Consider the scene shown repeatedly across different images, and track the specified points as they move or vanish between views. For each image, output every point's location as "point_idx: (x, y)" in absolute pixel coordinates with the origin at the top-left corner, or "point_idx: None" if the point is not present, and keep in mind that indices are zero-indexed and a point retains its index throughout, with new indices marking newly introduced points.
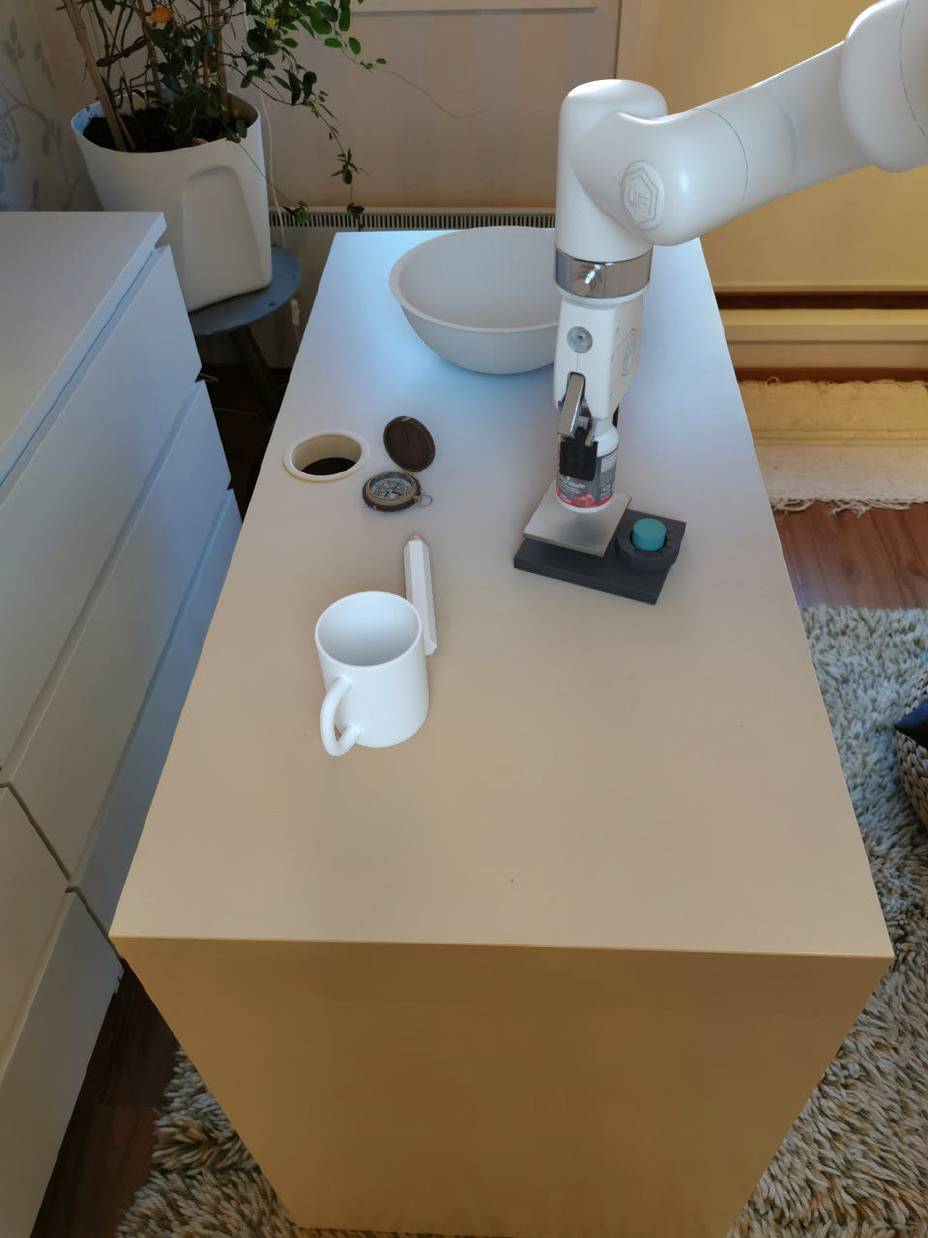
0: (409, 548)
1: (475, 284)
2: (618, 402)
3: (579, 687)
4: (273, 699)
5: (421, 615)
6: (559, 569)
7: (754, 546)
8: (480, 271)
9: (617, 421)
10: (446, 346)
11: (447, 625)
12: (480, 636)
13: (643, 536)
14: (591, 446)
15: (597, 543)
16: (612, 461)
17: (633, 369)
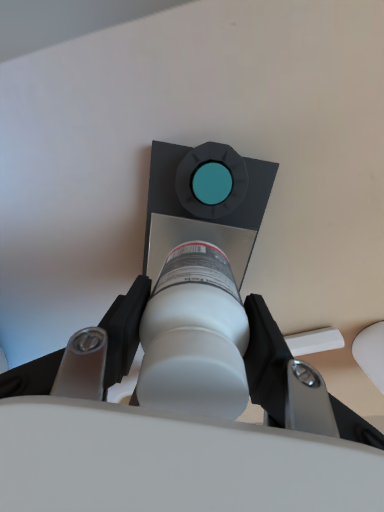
0: None
1: None
2: (319, 462)
3: (378, 221)
4: (363, 390)
5: (318, 348)
6: (248, 261)
7: (157, 41)
8: None
9: (128, 294)
10: None
11: (302, 322)
12: (314, 300)
13: (228, 190)
14: (304, 362)
15: (242, 239)
16: (217, 275)
17: (49, 493)
